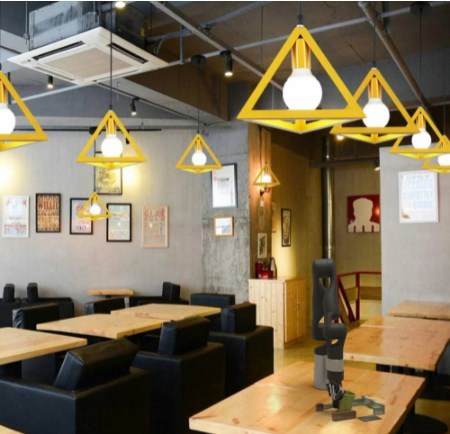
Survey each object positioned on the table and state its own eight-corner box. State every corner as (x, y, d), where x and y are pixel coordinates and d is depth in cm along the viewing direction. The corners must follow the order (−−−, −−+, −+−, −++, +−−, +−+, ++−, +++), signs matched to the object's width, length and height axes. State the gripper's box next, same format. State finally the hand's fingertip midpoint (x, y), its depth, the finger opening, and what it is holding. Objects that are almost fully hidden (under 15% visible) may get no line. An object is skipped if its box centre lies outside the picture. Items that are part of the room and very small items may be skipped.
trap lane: (310, 406, 240) (310, 398, 240) (357, 400, 249) (357, 391, 249) (340, 425, 216) (340, 415, 217) (392, 417, 226) (392, 408, 226)
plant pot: (328, 408, 234) (330, 389, 235) (346, 408, 237) (348, 389, 238) (340, 415, 225) (342, 395, 226) (358, 415, 229) (360, 395, 229)
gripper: (320, 365, 236) (320, 404, 235) (336, 372, 223) (336, 413, 223) (334, 364, 238) (334, 402, 238) (351, 371, 226) (351, 411, 225)
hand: (335, 408), depth 230 cm, fingers closed
